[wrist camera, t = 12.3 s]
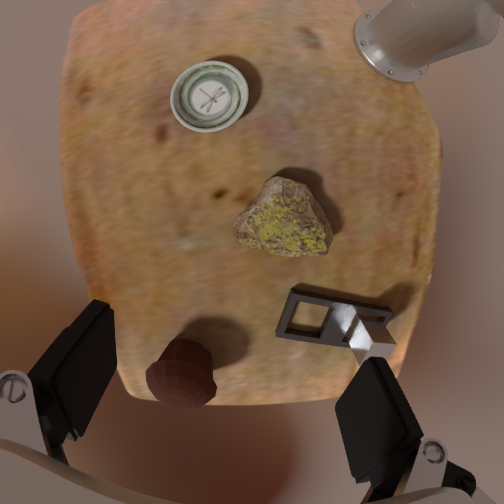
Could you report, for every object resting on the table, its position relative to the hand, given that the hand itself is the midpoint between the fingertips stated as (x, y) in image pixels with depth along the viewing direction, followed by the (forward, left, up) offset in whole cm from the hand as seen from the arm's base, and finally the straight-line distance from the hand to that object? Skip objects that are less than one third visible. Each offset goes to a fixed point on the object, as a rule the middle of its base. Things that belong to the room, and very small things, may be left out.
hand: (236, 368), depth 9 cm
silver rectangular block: (+14, +23, -28) cm, 39 cm away
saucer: (-13, -8, -29) cm, 33 cm away
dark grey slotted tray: (+14, +18, -28) cm, 36 cm away
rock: (0, +5, -29) cm, 29 cm away
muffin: (+28, -4, -28) cm, 40 cm away
